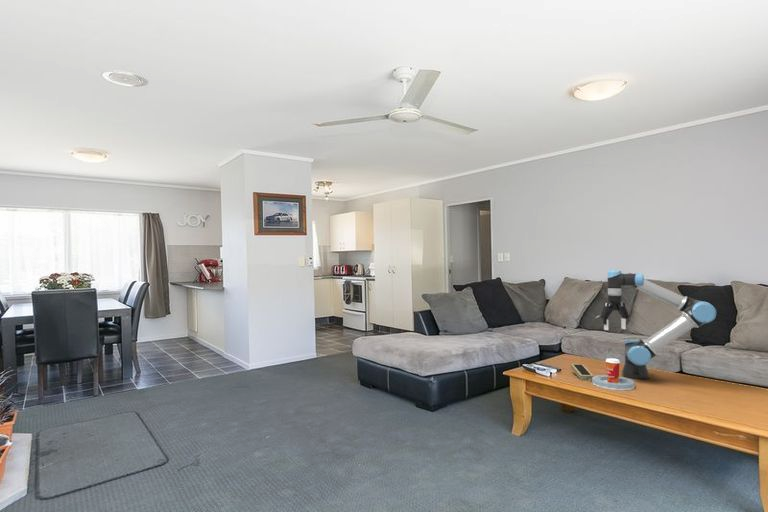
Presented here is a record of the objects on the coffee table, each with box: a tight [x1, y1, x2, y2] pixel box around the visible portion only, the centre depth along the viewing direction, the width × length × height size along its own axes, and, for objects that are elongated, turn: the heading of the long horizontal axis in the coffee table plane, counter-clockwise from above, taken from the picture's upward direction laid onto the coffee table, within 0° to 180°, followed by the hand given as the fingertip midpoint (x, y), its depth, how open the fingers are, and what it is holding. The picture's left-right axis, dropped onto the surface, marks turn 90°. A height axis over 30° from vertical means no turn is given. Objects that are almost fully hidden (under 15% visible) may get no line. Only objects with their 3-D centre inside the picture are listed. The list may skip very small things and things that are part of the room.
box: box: [570, 363, 595, 383], centre depth 275 cm, size 8×22×5 cm, turn 176°
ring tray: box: [591, 374, 636, 391], centre depth 257 cm, size 22×22×3 cm
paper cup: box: [605, 357, 621, 383], centre depth 257 cm, size 8×8×14 cm
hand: (615, 329), depth 271 cm, fingers open, 13 cm apart
